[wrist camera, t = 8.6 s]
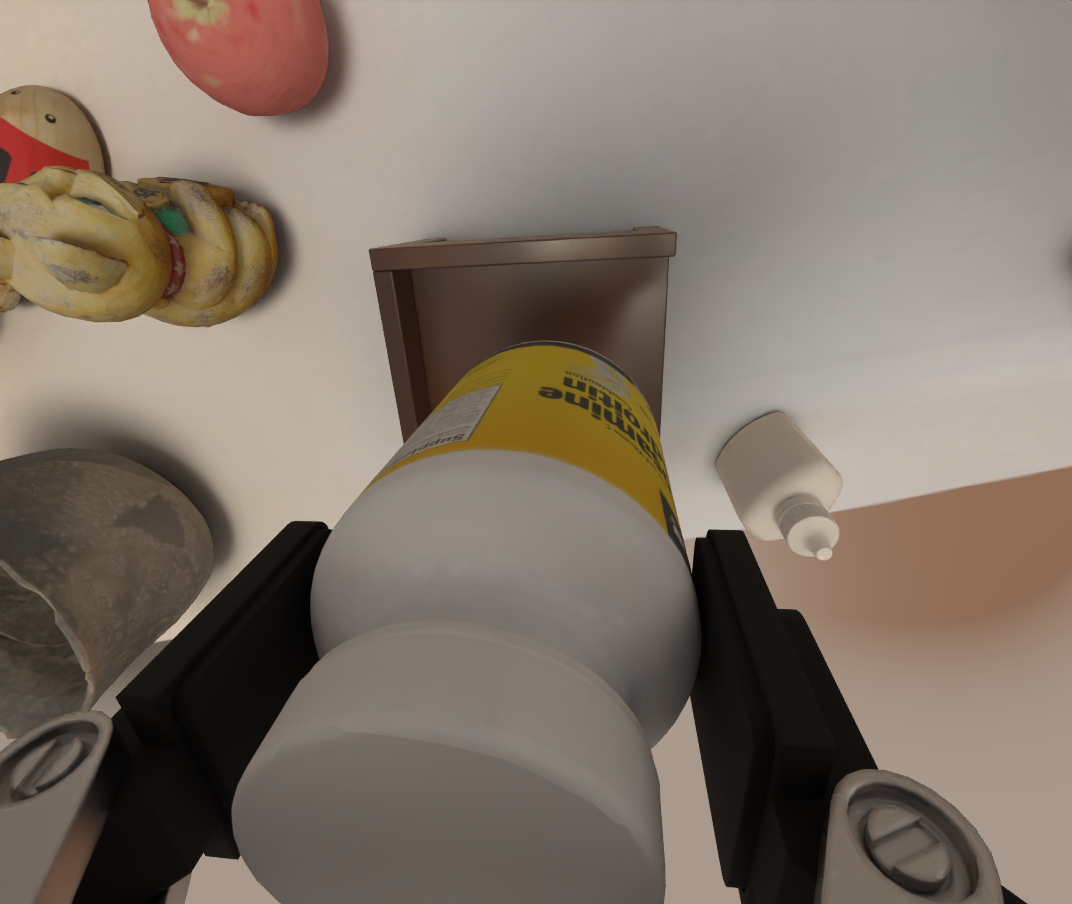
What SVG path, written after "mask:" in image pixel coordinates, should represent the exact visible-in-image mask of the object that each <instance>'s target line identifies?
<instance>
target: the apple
mask: <svg viewBox="0 0 1072 904" xmlns="http://www.w3.org/2000/svg"><path fill="white" fill-rule="evenodd" d="M148 3H149V8H150V12H151V17H152V20H153V22H154V25H155V27H156V29H157V32H158V34H159V37H160V39H161V42H162V43H163V45H164V47H165V48H166V50H167V52H168V53H169V55H170V56H171V58H172V60H173V61H174V63H175V64H176V65H177V67H178V68H179V69H180V70H181V71H182V72H183V73H184V74H185V75H186V77H187V78H188V79H189V80H190V81H191V82H192V83H193V84H195V85H196V86H197V87H198V88H200V89H201V90H202V91H204V92H205V93H206V94H208V95H209V96H210V97H211V98H213V99H214V100H216V101H217V102H219V103H221V104H223V105H225V106H227V107H229V108H232V109H234V110H236V111H238V112H240V113H242V114H246V115H251V116H273V115H278V114H284V113H289V112H292V111H295V110H297V109H299V108H302V107H304V106H305V105H307V104H308V103H309V102H310V101H311V100H312V99H313V98H314V97H315V96H316V95H317V93H318V91H319V89H320V87H321V85H322V83H323V81H324V78H325V74H326V70H327V67H328V52H329V44H328V36H327V27H326V22H325V19H324V15H323V11H322V8H321V4H320V1H319V0H148Z"/></svg>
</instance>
